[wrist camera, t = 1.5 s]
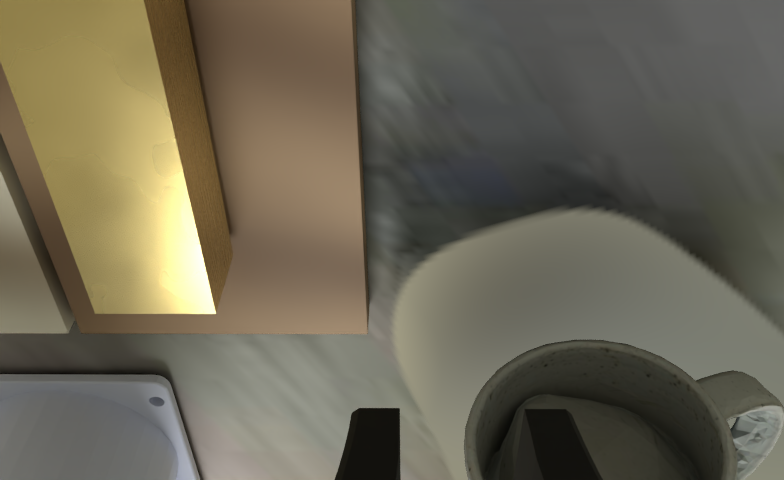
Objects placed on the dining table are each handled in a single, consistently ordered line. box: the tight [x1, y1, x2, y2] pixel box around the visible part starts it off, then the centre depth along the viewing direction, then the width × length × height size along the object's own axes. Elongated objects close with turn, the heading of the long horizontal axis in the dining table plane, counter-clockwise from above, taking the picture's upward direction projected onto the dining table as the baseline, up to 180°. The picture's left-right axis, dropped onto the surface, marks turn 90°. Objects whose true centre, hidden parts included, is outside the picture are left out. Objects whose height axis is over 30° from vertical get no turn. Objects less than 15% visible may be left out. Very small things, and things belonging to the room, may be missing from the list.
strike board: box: [0, 0, 369, 334], centre depth 16 cm, size 18×15×4 cm
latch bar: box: [0, 0, 233, 314], centre depth 15 cm, size 12×4×3 cm, turn 1°
